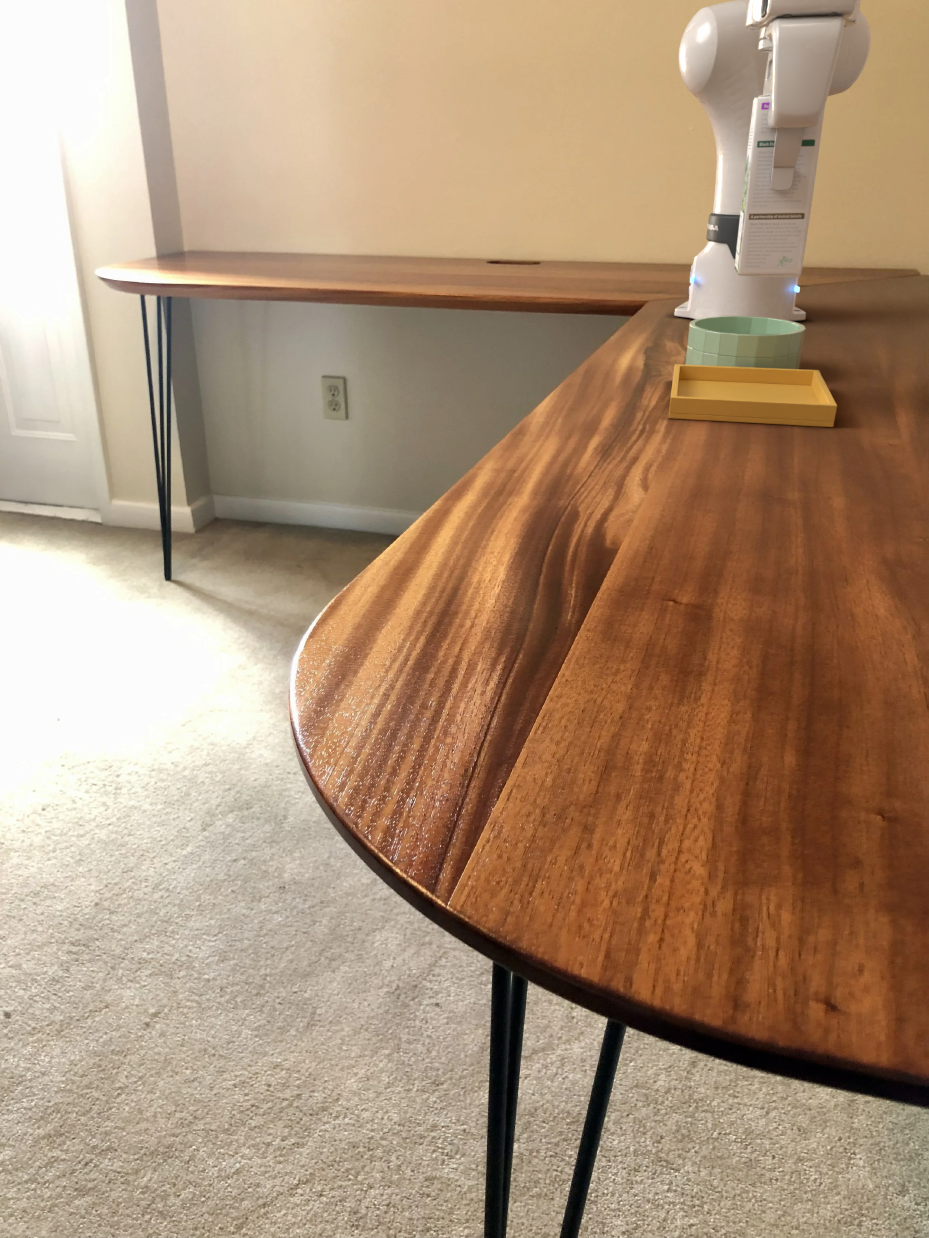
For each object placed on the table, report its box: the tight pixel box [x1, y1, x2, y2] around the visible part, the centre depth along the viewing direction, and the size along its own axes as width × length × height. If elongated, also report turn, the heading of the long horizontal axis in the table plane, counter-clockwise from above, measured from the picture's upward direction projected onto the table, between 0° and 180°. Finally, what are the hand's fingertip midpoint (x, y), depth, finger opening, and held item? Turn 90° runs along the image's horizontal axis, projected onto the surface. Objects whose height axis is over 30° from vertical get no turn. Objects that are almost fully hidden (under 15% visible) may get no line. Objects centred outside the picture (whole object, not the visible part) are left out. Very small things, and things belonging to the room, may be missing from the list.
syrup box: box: [734, 94, 826, 278], centre depth 79 cm, size 6×6×14 cm
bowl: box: [684, 316, 807, 369], centre depth 100 cm, size 12×12×5 cm
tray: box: [667, 363, 838, 428], centre depth 88 cm, size 15×15×2 cm
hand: (777, 188), depth 79 cm, fingers closed on syrup box, 6 cm apart
